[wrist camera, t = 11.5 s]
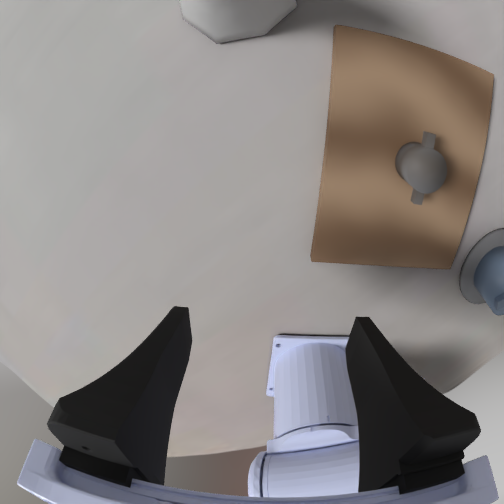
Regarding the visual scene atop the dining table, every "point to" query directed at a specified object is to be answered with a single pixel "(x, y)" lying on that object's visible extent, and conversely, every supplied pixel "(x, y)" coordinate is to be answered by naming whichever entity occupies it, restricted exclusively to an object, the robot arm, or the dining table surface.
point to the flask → (235, 17)
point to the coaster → (474, 257)
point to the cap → (491, 279)
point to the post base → (372, 136)
